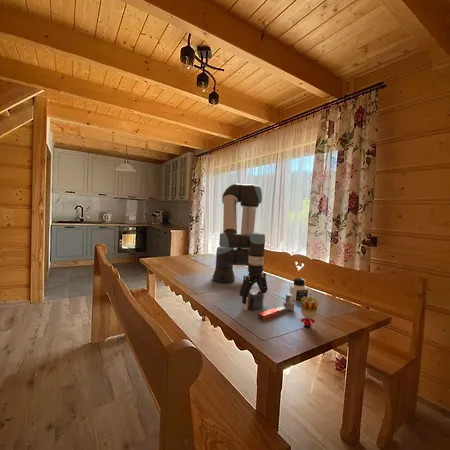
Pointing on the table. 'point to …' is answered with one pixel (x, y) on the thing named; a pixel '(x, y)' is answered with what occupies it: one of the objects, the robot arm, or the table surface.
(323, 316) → the table surface
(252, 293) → the dark wooden cube
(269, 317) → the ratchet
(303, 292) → the medicine bottle
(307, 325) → the toy
